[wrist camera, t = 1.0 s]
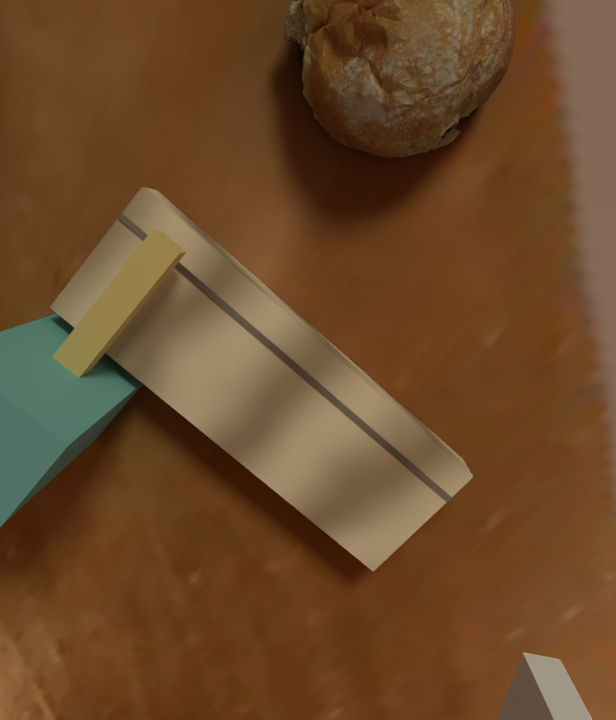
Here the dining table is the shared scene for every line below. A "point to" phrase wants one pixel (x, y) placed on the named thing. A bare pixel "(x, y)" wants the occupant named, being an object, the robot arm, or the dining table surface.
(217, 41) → the dining table surface
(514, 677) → the robot arm
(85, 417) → the teal boxy piece
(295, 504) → the plank
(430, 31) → the bread roll
